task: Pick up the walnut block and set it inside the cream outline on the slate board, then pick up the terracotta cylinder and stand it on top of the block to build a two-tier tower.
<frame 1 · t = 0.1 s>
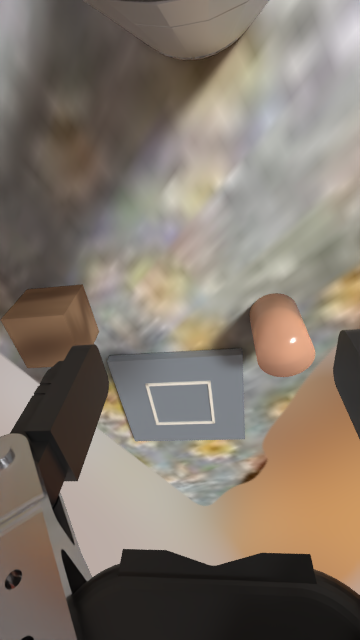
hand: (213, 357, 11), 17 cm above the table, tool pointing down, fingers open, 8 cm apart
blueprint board: (182, 396, 38), on the table
terracotta cylinder: (273, 313, 30), on the table
walnut block: (64, 310, 32), on the table
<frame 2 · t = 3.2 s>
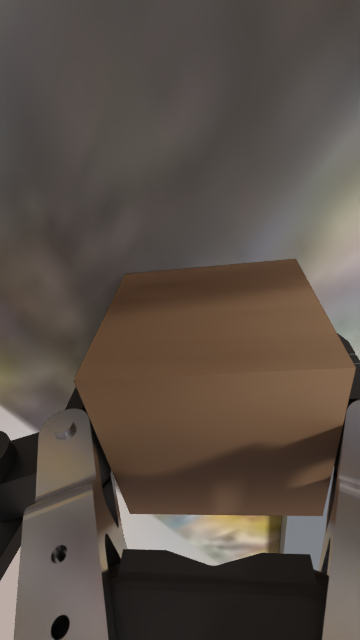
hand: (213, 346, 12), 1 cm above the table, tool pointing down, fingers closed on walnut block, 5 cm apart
walnut block: (213, 334, 12), on the table, touching gripper
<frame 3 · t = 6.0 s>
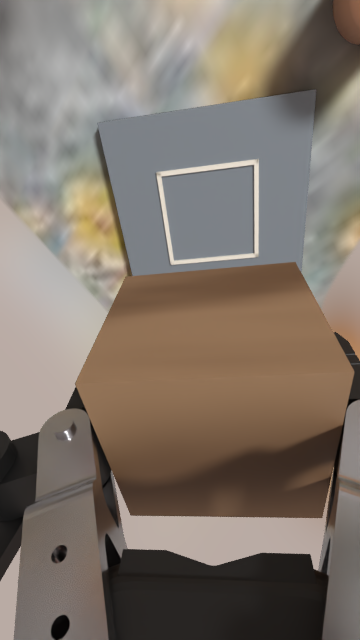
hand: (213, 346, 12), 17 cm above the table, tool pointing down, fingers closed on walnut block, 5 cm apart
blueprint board: (210, 212, 25), on the table
walnut block: (213, 337, 12), point 16 cm above the table, touching gripper
when the fingers open (3 cm above the table, at t = 8.9 s): walnut block drops 1 cm, resting on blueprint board.
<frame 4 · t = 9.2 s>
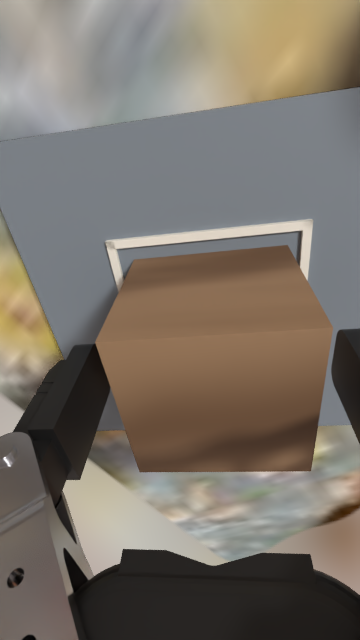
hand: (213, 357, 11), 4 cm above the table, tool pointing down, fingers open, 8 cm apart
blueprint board: (212, 303, 14), on the table
walnut block: (214, 316, 13), point 1 cm above the table, touching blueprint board
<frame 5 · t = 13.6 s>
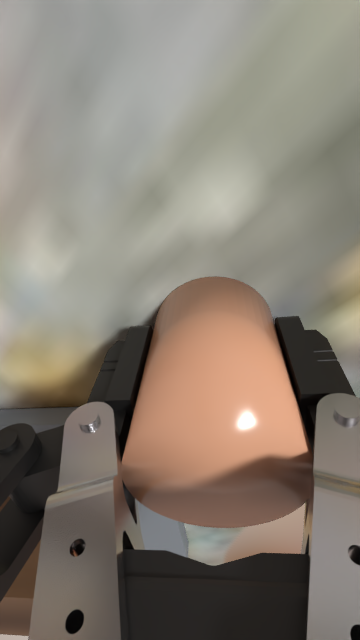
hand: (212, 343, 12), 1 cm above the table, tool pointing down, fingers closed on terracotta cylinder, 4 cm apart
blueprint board: (60, 487, 20), on the table
terracotta cylinder: (213, 328, 12), on the table, touching gripper
walnut block: (55, 504, 19), point 1 cm above the table, touching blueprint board
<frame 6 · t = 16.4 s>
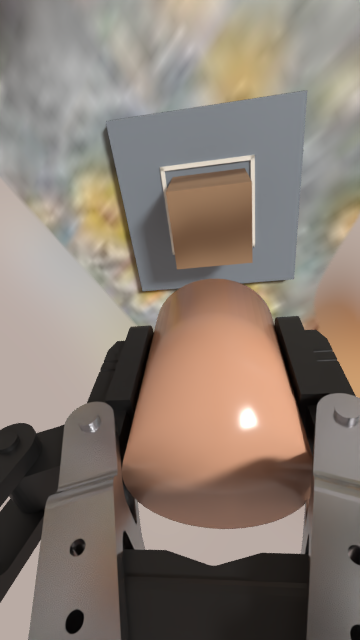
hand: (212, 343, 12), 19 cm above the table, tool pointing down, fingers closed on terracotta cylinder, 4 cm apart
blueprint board: (210, 205, 27), on the table
terracotta cylinder: (213, 330, 12), point 18 cm above the table, touching gripper
walnut block: (210, 209, 26), point 1 cm above the table, touching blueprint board
when the fingers open (8 cm above the table, at t = 19.1 s): terracotta cylinder drops 1 cm, resting on walnut block.
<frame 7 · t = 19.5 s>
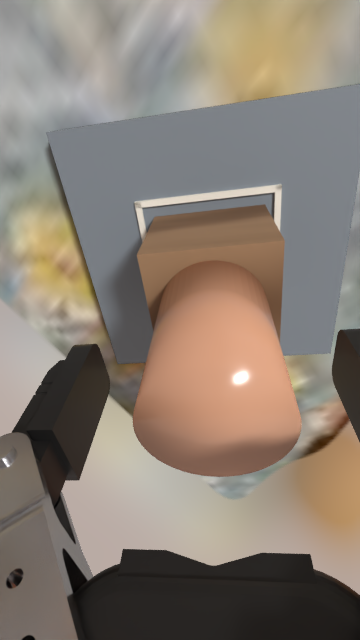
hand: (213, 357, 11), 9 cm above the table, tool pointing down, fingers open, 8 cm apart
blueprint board: (211, 253, 19), on the table
terracotta cylinder: (213, 309, 14), point 6 cm above the table, touching walnut block
walnut block: (212, 261, 18), point 1 cm above the table, touching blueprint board, terracotta cylinder
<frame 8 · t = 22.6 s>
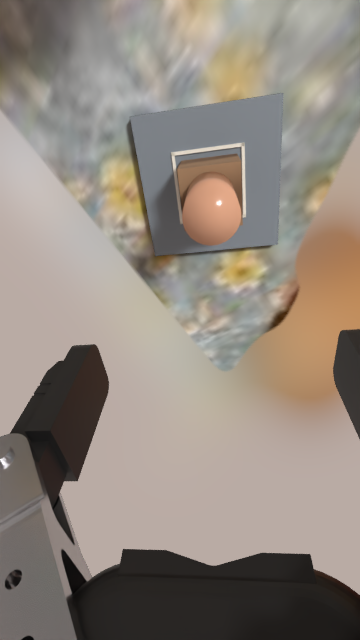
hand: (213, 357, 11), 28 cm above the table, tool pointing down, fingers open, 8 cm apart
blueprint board: (210, 184, 34), on the table
terracotta cylinder: (210, 197, 29), point 6 cm above the table, touching walnut block
walnut block: (210, 186, 33), point 1 cm above the table, touching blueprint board, terracotta cylinder
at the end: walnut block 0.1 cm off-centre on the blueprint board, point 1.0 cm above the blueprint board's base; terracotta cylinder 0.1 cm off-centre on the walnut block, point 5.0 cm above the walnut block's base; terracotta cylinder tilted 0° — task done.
